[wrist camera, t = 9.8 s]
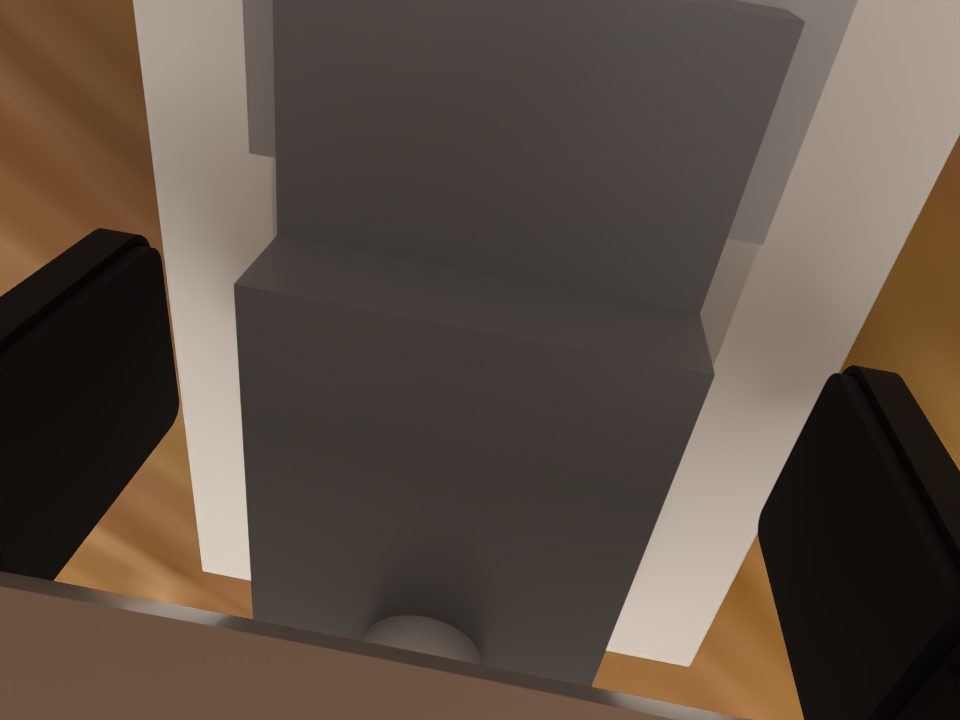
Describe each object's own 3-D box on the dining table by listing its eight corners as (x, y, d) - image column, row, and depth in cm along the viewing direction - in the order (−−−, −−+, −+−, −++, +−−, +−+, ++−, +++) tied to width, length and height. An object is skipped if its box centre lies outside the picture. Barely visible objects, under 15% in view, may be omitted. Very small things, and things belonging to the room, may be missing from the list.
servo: (409, -94, 10) (130, -50, 4) (711, -41, 9) (902, 86, 4) (367, 500, 16) (236, 862, 10) (549, 535, 16) (524, 922, 10)
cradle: (117, -501, 9) (-404, -916, 4) (1152, -346, 8) (1831, -617, 4) (219, 540, 19) (103, 748, 14) (684, 631, 18) (714, 874, 14)
